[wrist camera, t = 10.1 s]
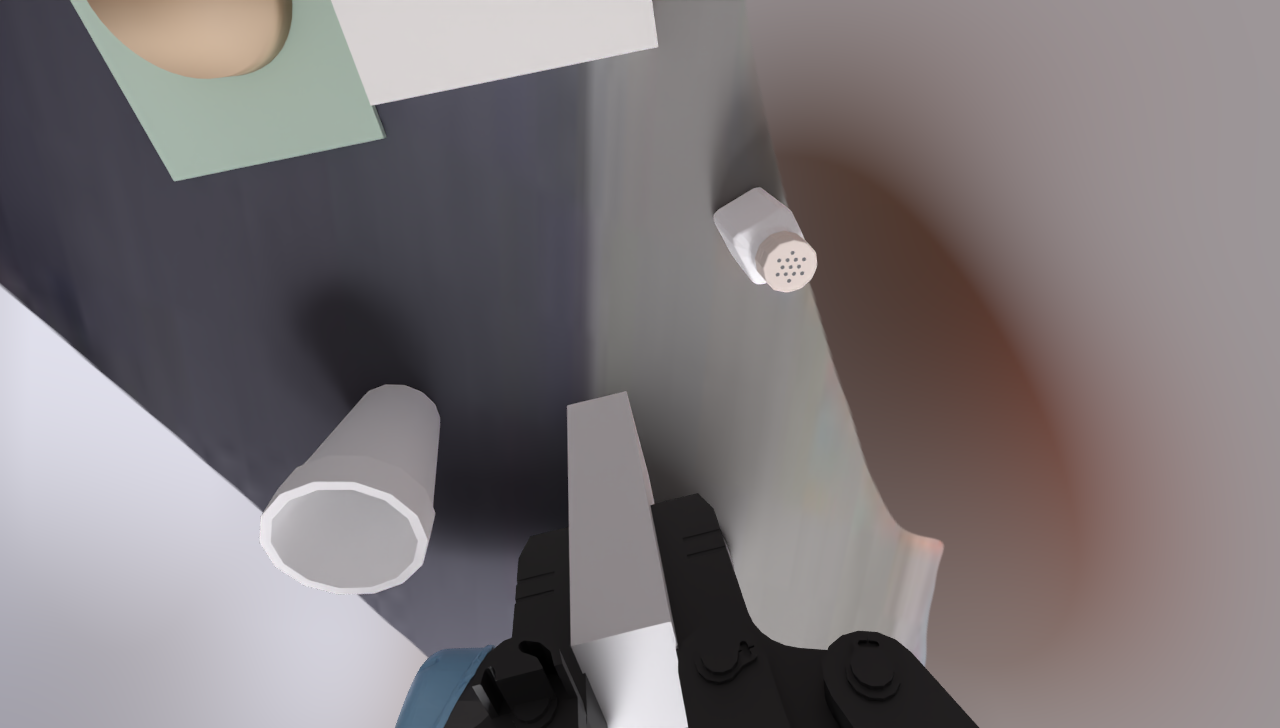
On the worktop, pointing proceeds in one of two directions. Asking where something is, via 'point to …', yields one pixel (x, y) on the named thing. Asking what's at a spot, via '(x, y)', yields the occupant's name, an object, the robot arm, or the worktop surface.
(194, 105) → the rubber mat
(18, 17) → the worktop surface
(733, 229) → the pepper shaker
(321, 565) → the foam cup
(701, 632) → the robot arm
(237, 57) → the tan flat disc
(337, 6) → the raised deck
